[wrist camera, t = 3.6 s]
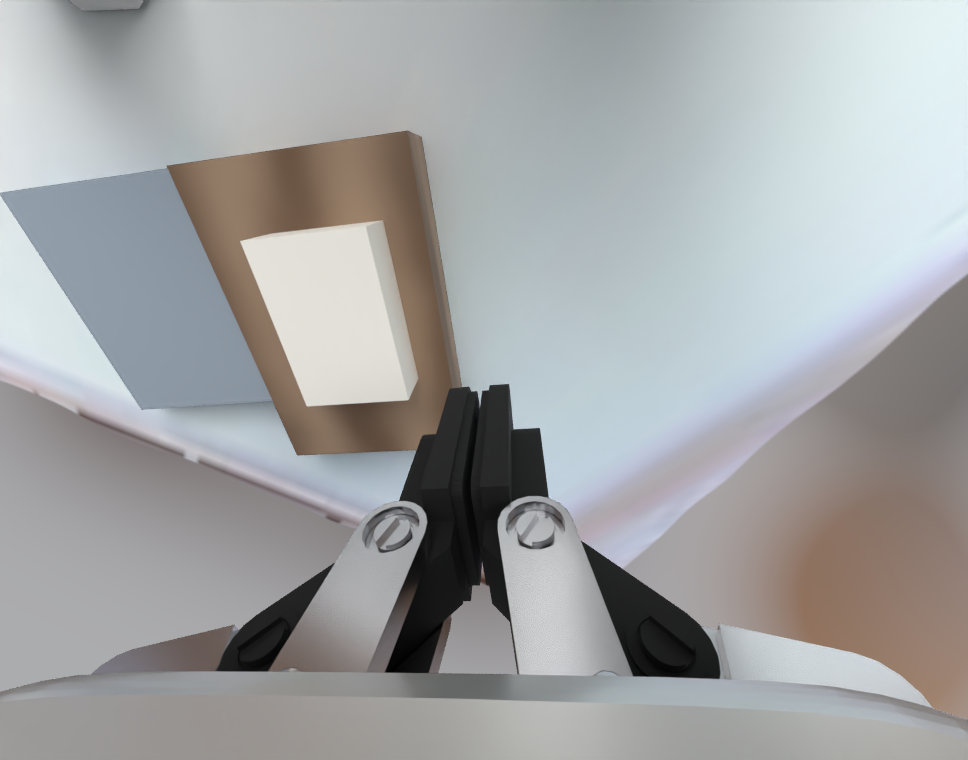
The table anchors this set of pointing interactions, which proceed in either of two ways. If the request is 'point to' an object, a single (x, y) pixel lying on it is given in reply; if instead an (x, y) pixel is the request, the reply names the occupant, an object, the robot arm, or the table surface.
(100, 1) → the flask
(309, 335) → the tile
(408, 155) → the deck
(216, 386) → the mat
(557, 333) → the table surface
